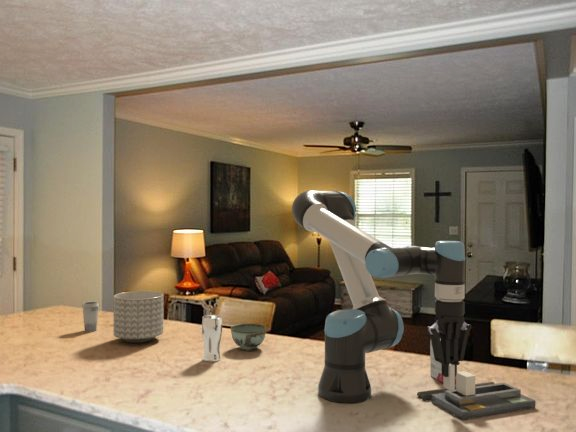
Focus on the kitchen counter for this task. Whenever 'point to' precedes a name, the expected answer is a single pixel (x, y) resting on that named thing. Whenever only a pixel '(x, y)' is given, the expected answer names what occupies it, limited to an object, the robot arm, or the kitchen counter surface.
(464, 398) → the grey tray
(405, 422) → the kitchen counter surface
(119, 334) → the planter
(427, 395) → the dark grey flat bar
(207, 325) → the beer glass
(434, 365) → the ink box
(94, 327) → the cup
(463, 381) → the toggle
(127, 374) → the kitchen counter surface
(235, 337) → the bowl
